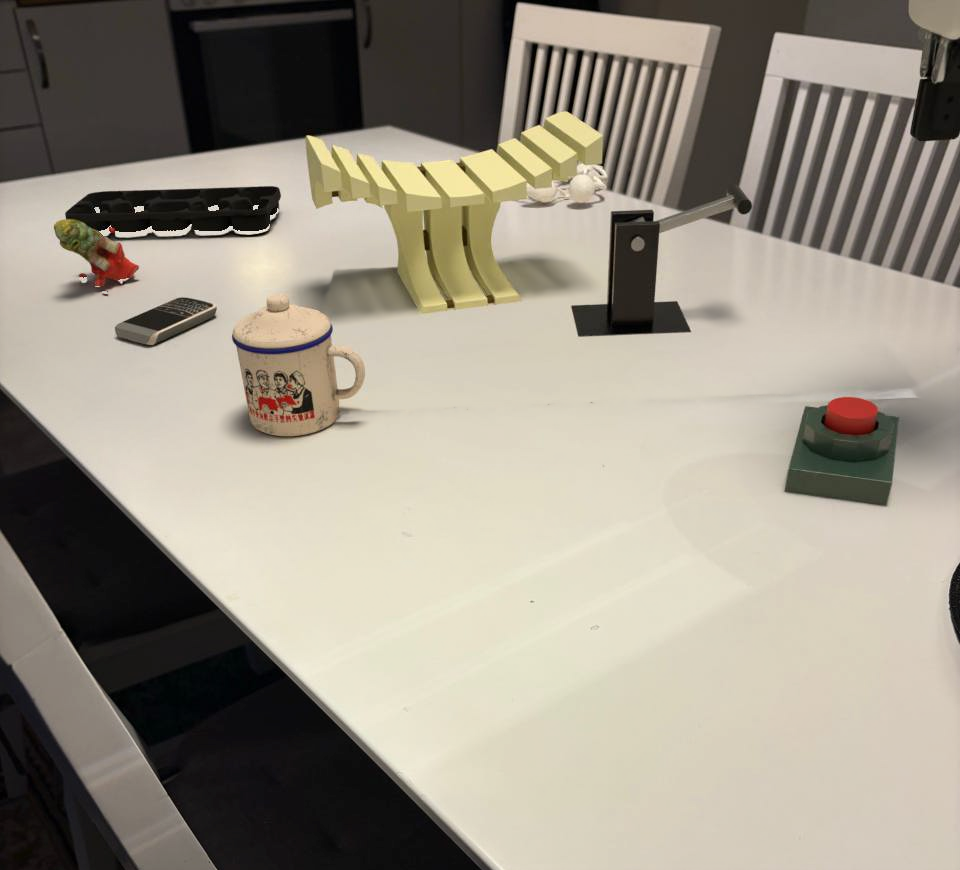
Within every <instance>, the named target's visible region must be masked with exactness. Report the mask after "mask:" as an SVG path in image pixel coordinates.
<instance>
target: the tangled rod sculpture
mask: <svg viewBox="0 0 960 870" xmlns="http://www.w3.org/2000/svg"><path fill="white" fill-rule="evenodd" d="M608 178H609V176H608V172H607V171H606V170H605V169H604V165H603V166H602V165H599V164H593V165H584V164H583V163H579V164H577V176H568V181H570V182H569V184H568V193H566V191H565V190H564V189H561V188H559V187H558V186H557V185H556V184H555V181H554V180H552V187H550V188H541V189H534V188H533V187H532V186H531V185H529V184H528V183H527V197H530V198H534V199H535V200H537V201H539V202H541V203H550V202H553V200H554V199H555V198H556V196H557V193H559V196H563V197H564V199H565V200H569V199H570V198H571V200H573V202H575V203H577V204H584V203H587V202H589V201H590V200H591V199H593V196H594V194H595V191H596V189H601V190H602V191H603V190H607V188H608V187H607V185H606V183H604V182H606V181H607V180H608Z"/></svg>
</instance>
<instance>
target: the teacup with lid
mask: <svg viewBox="0 0 960 870" xmlns="http://www.w3.org/2000/svg"><path fill="white" fill-rule="evenodd" d="M333 330H334V328H333V324H332V323H331V320H330V319H329V318H328V316H327V315H325V314H324V313H323V312H321V311H319V310H317V309H315V308H310V307H303V306H300V305H297V304H294V303H291V302H290V299H289V297H288V296H287V295H285V294H283V293H282V294H281V293H277V294H272V295H270V296H268V297H267V299H266V305H265V306H263V307H261V308H259V309H258V310H257V311H255V312H252V313H250V314H248V315H246V316H244V317H242V318H241V319H240V320H238V321H237V322H236V323H235V325H234V327H233V329H232V336H231V340H232V343H233V344H234V345H235V346H236V347H235V348H236V352H237V358H238V362H239V363H238V364H239V368H240V373H241V379H242V384H243V389H244V390H243V391H244V395H245V400H246V405H247V411H248V415H249V416H248V417H249V420H250V423H251V425H252V426H253V427H254V428H255V429H256V430H258V431H259V432H261V433H264V434H267V435H270V436H277V437H298V436H305V435H309V434H313V433H316V432H319V431H321V430H324V429H326V428H328V427H329V426H331V425H332V424H333V423H335V422H336V420H338V418H339V416H340V414H341V410H338V409H339V407H340V400H347V399H351V398H352V397H354V396H355V395H356V394H357V393H358V392H359V391H360V390H361V388H362V386H363V384H364V381H365V377H366V368H365V364H364V361H363V358H362V357H361V356H360V355H359V353H357V352H356V351H355V350H353V349H352V348H349V347H347V346H343V345H342V346H341V345H333V341H332V333H333ZM335 357H340V358H342V359H346V361H349V362H350V363H351V365H352V366H353V368H354V371H355V378H354V383H353V385H352V386H350V387H349V388H341V389H340V388H338V380H337V373H336V372H337V371H336V365H335Z"/></svg>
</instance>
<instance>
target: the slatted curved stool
mask: <svg viewBox="0 0 960 870" xmlns="http://www.w3.org/2000/svg"><path fill="white" fill-rule="evenodd" d="M603 141H604V134H602V133H600V132H599V131H597V130H596V129H595V128H593V127H591V126H589V125H588V124H587V123H585V122H584V121H582V120H581V119H579V118H577V117H576V116H575V115H573V114H572V113H570V112H568V111H565V110H564V111H560V112H556V113H554V114H552V115H550V116H548V117H546V118H544V122H543V125H542V126H541V125H540V124H538V125H535V126H533V127H531V128H528V129H527V130H524V131H521V133H520V138H519V140H518V139H517V138H511V139H509V140H506V141H503V142H501V143H499V144H498V145H497V152H496V151H495V150H494V149H493V148H491V149H487V150H484V151H481V152H477V153H474V154H471V155H465V156H461V157H459V162H455V161H454V160H453V159H446V160H437V161H423V162H420V166H417V165H416V164H415V163H414V162H412V161H411V162H410V161H394V160H386V159H382V160H381V165H379V163H378V162H377V160H375V158H374V156H370V155H366V154H363V153H356V160H355V159H354V157H353V156H352V154H351V152H350V151H349V149H347V148H344V147H341V146H337V145H334V144H331V146H330V147H331V149H330V150H331V151H329V149H328V147H327V146H326V144H325V142H324V140H323V139H321V138H318V137H315V136H313V135H305V152H306V153H305V154H306V161H307V162H306V163H307V169H308V170H307V171H308V178H309V185H310V186H309V187H310V194H311V200H312V202H313V204H314V206H315V209H316V210H318V209H320V208H322V207H325V206H329V205H332V204H333V198H338V199H339V201H340V203H345V202H357V201H358V199H363V200H364V201H365V203H367V204H372V205H375V206H378V207H379V208H381V209H383V208H384V210H385V212H386V214H387V216H388V219H389V221H390V224H391V226H392V229H393V232H394V235H395V239H396V243H397V253H398V256H397V257H398V259H397V268H396V273H397V274H398V276H399V278H400V280H401V281H402V283H403V285H404V287H405V288H406V290H407V292H408V293H409V295H410V297H411V299H412V301H413V302H414V305H415V306H416V308H417V309H418V311H419V313H420V315H423V314H432V313H440V312H447V311H448V309H449V310H450V309H455V310H463V309H472V308H480V307H487V306H488V305H489V304H494V305H502V304H511V303H518V302H522V299H521V298H520V294H518V292H517V290H515V289H514V287H513V286H512V284H511V283H510V281H509V280H508V279H507V278H506V276H505V274H504V273H503V272H502V270H501V268H500V266H499V264H498V262H497V260H496V258H495V255H494V251H493V246H492V235H493V230H494V229H493V228H494V225H495V221H496V218H497V215H498V213H499V210H500V209H501V203H504V202H514V201H522V200H524V201H525V200H527V199H528V198H527V197H528V195H527V183H528V184H529V185H531V186H532V187H533V188H534V189H541V188H550V187H552V181H556V182H563V183H568V182H569V180H568V176H577V165H578V162H580V164H582V163H583V164H584V165H593V164H595V165H602V164H603V147H604V146H603V145H604V143H603ZM330 152H331V153H330ZM383 206H384V207H383ZM434 279H435V280H436V281H435V280H434ZM476 280H477V281H476ZM436 282H437V283H438V285H439V287H440V288H441V289H442V291H443V293H444V295H445V296H446V297H447V299H448V300H445V298H444V296H443V295H442V293H441V291H440V289H439V288H438V286H437V283H436ZM478 283H479V284H478ZM479 285H480V286H481V287H482V288H483V289H484V291H485V292H486V294H487V295H485V293H484V292H483V290H482V288H481V287H480V286H479Z"/></svg>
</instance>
